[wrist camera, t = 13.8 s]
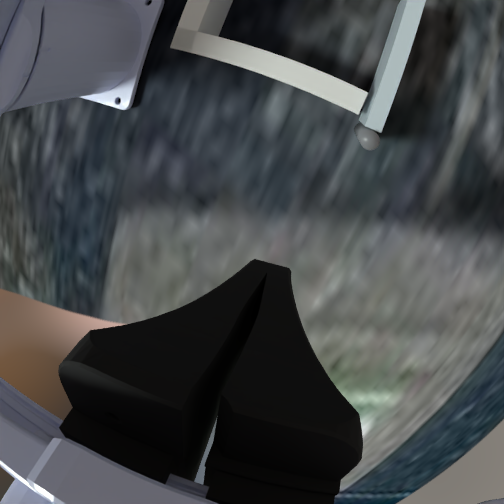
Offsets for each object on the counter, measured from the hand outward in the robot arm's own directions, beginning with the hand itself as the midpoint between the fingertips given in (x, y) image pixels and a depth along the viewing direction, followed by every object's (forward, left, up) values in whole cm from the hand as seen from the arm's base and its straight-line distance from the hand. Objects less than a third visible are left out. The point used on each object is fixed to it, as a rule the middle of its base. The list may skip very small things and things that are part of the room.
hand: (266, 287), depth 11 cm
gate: (+1, +9, -9) cm, 13 cm away
